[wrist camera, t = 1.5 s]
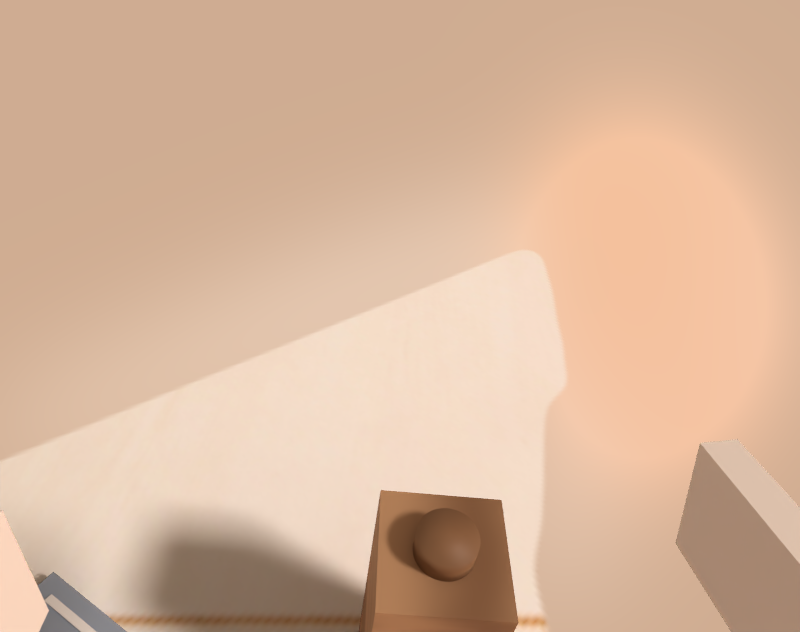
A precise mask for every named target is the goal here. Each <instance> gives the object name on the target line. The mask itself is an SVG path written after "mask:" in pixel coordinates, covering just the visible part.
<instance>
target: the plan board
mask: <svg viewBox="0 0 800 632" xmlns="http://www.w3.org/2000/svg"><path fill="white" fill-rule="evenodd" d="M38 588H39V590H40V592H41V594H42V597H43V599H44V601H45V603H46V605H47V607H48V610H49V611H48V613H47V616H46V618H45V620H44V622H43V624H42V626H41V629H40V631H39V632H126V631H125V630H124V629H123V628H122V627H120V626H119V625H118V624H117V623H115V622H114V621H113V620H112V619H111V618H109V617H108V616H107V615H106V614H104V613H103V612H102V611H101V610H99V609H98V608H97V607H96V606H95V605H93V604H92V603H91V602H90V601H88V600H87V599H86V598H85V597H84V596H82V595H81V594H80V593H79V592H77V591H76V590H75V589H74V588H72V587H71V586H70V585H69V584H68V583H66V582H65V581H64V580H63V579H61V578H60V577H59V576H58V575H57V574H55V573H54V572H53V573H52V574H50V575H49V576H48V577H47V578H46V579H45V580H43V581H42V582H41V583H40V584H39V585H38Z"/></svg>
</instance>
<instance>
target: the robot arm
mask: <svg viewBox="0 0 800 632" xmlns="http://www.w3.org/2000/svg"><path fill="white" fill-rule="evenodd" d="M676 545H677V546H678V548H679V549H680V551H681V553H682V554H683V556H684V557H685V559H686V561H687V562H688V564H689V565H690V567H691V568H692V570H693V572H694V573H695V575H696V576H697V578H698V580H699V581H700V583H701V584H702V586H703V587H704V589H705V591H706V592H707V594H708V596H709V597H710V599H711V600H712V602H713V603H714V605H715V607H716V608H717V610H718V612H719V613H720V615H721V616H722V618H723V619H724V621H725V622H726V624H727V626H728V627H729V629H730V631H731V632H800V507H799V506H798V505H797V504H796V503H795V502H794V501H793V500H792V498H791V497H790V496H789V495H788V494H787V493H786V492H785V491H784V490H783V489H782V488H781V486H780V485H779V484H778V483H777V482H776V481H775V480H774V479H773V478H772V477H771V475H770V474H768V472H767V471H766V470H765V469H764V468H763V467H762V466H761V465H760V463H759V462H758V461H757V460H756V459H755V458H754V457H753V456H752V455H751V454H750V453H749V451H748V450H747V449H746V448H745V447H744V446H743V445H742V444H741V443H740V442H739V440H738V439H737V440H726V441H717V442H705V443H700V446H699V450H698V454H697V458H696V462H695V466H694V470H693V474H692V478H691V482H690V486H689V490H688V494H687V498H686V503H685V507H684V511H683V515H682V519H681V523H680V527H679V531H678V535H677V539H676ZM48 611H49V610H48V607H47V605H46V603H45V601H44V599H43V597H42V594H41V592H40V590H39V588H38V586H37V584H36V582H35V579H34V577H33V575H32V573H31V571H30V569H29V566H28V564H27V562H26V560H25V558H24V556H23V553H22V551H21V549H20V547H19V545H18V543H17V541H16V538H15V536H14V534H13V532H12V530H11V528H10V525H9V523H8V521H7V519H6V517H5V515H4V512H3V510H0V632H39V631H40V629H41V626H42V624H43V622H44V620H45V618H46V616H47V613H48Z"/></svg>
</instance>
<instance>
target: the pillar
mask: <svg viewBox="0 0 800 632" xmlns="http://www.w3.org/2000/svg"><path fill="white" fill-rule="evenodd" d="M517 624H518V617H517V610H516V603H515V596H514V588H513V581H512V574H511V566H510V559H509V552H508V545H507V537H506V530H505V523H504V515H503V508H502V501H501V500H494V499H482V498H469V497H457V496H445V495H433V494H420V493H408V492H396V491H384V490H381V492H380V499H379V505H378V511H377V518H376V524H375V531H374V537H373V543H372V550H371V556H370V563H369V569H368V576H367V582H366V588H365V595H364V601H363V608H362V614H361V620H360V627H359V632H514V630H515V628H516V626H517Z"/></svg>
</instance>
